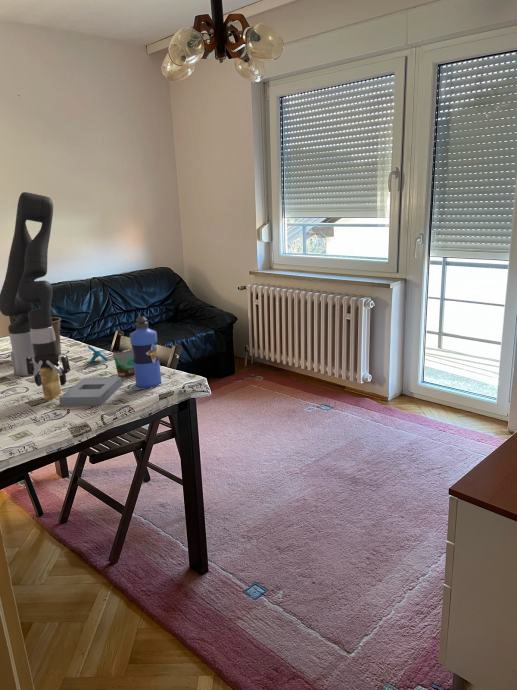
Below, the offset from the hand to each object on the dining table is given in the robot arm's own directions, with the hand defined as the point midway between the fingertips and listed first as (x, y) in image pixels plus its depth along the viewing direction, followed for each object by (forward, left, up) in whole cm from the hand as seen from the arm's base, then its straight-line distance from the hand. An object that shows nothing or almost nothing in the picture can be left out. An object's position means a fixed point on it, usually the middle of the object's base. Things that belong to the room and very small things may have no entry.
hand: (51, 385), depth 181 cm
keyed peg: (0, 0, -4) cm, 4 cm away
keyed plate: (+14, +1, -4) cm, 15 cm away
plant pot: (-29, +53, -4) cm, 61 cm away
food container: (+21, +23, -4) cm, 31 cm away
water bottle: (+31, +11, -4) cm, 33 cm away
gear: (0, +41, -4) cm, 42 cm away
